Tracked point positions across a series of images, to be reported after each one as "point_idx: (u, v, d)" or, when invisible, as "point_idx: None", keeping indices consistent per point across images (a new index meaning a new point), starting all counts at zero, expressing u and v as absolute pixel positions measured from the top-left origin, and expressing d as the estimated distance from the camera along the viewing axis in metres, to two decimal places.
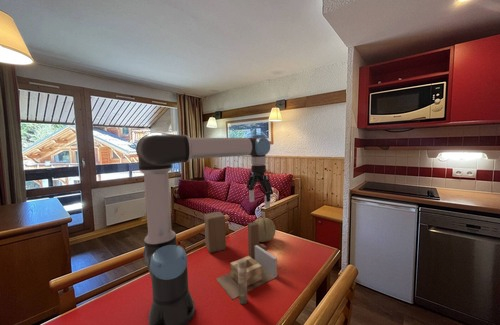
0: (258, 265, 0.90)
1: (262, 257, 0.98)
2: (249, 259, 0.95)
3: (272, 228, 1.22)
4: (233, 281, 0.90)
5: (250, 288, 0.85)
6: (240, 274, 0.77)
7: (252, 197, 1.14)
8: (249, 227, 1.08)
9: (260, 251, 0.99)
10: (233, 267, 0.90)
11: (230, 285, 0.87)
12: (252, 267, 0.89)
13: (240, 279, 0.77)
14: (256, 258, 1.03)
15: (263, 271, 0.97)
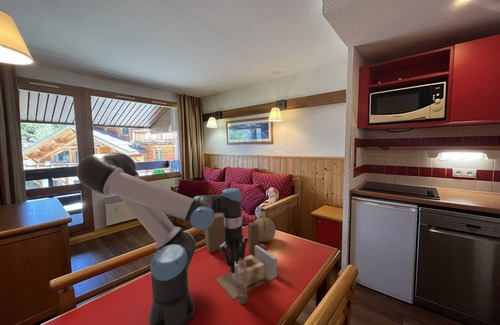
0: (261, 264, 0.91)
1: (262, 257, 0.98)
2: (252, 258, 0.96)
3: (272, 228, 1.22)
4: (233, 281, 0.90)
5: (250, 288, 0.85)
6: (240, 274, 0.77)
7: None
8: (249, 227, 1.08)
9: (260, 251, 0.99)
10: None
11: (230, 285, 0.87)
12: (255, 266, 0.90)
13: (240, 279, 0.77)
14: None
15: None
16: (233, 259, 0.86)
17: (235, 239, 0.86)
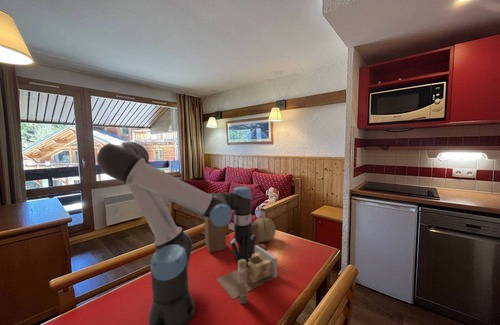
0: (268, 261, 0.93)
1: None
2: (259, 255, 0.98)
3: (272, 228, 1.22)
4: (233, 281, 0.90)
5: (250, 288, 0.85)
6: (240, 274, 0.77)
7: None
8: None
9: (260, 251, 0.99)
10: None
11: (230, 285, 0.87)
12: (262, 263, 0.92)
13: (240, 279, 0.77)
14: None
15: None
16: (242, 255, 0.88)
17: (244, 236, 0.88)
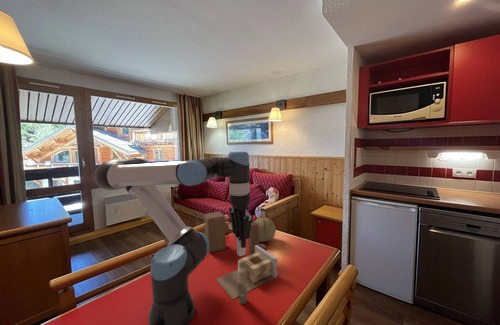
0: (268, 261, 0.93)
1: None
2: (259, 255, 0.98)
3: (272, 228, 1.22)
4: (233, 281, 0.90)
5: (250, 288, 0.85)
6: (240, 274, 0.77)
7: None
8: None
9: (260, 251, 0.99)
10: None
11: (230, 285, 0.87)
12: (262, 263, 0.92)
13: (240, 279, 0.77)
14: None
15: None
16: None
17: None
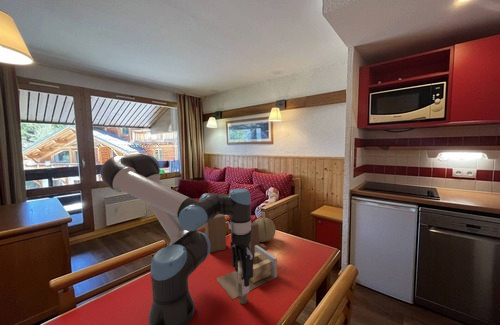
0: (268, 261, 0.93)
1: None
2: (259, 255, 0.98)
3: (272, 228, 1.22)
4: (233, 281, 0.90)
5: (250, 288, 0.85)
6: (240, 274, 0.77)
7: None
8: None
9: (260, 251, 0.99)
10: None
11: (230, 285, 0.87)
12: (262, 263, 0.92)
13: (240, 279, 0.77)
14: None
15: None
16: None
17: None
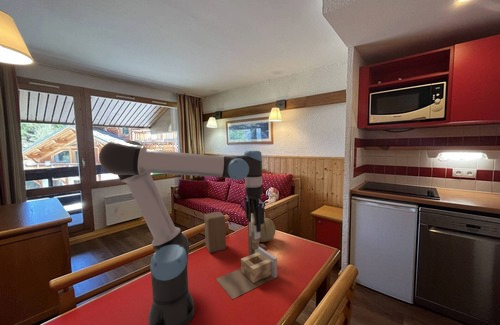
0: (268, 261, 0.93)
1: None
2: (259, 255, 0.98)
3: (272, 228, 1.22)
4: (233, 281, 0.90)
5: (250, 288, 0.85)
6: (253, 223, 0.91)
7: None
8: None
9: (260, 251, 0.99)
10: (243, 262, 0.94)
11: (230, 285, 0.87)
12: (262, 263, 0.92)
13: (253, 228, 0.91)
14: None
15: None
16: None
17: None
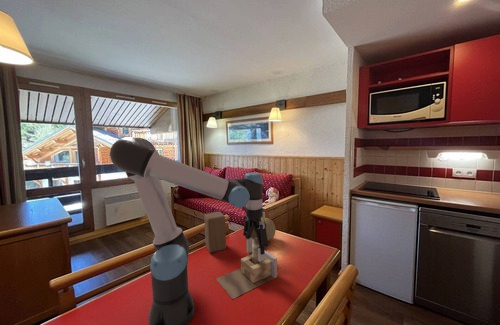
0: (268, 261, 0.93)
1: None
2: None
3: (272, 228, 1.22)
4: (233, 281, 0.90)
5: (250, 288, 0.85)
6: (254, 249, 0.92)
7: (250, 247, 0.97)
8: None
9: None
10: (243, 262, 0.94)
11: (230, 285, 0.87)
12: (262, 263, 0.92)
13: (254, 253, 0.92)
14: None
15: None
16: None
17: None
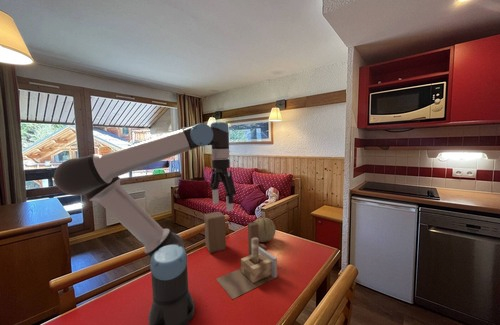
0: (268, 261, 0.93)
1: None
2: (259, 255, 0.98)
3: (272, 228, 1.22)
4: (233, 281, 0.90)
5: (250, 288, 0.85)
6: (253, 249, 0.92)
7: (216, 198, 0.96)
8: (249, 227, 1.08)
9: (260, 251, 0.99)
10: (243, 262, 0.94)
11: (230, 285, 0.87)
12: (262, 263, 0.92)
13: (253, 253, 0.92)
14: None
15: None
16: None
17: None
